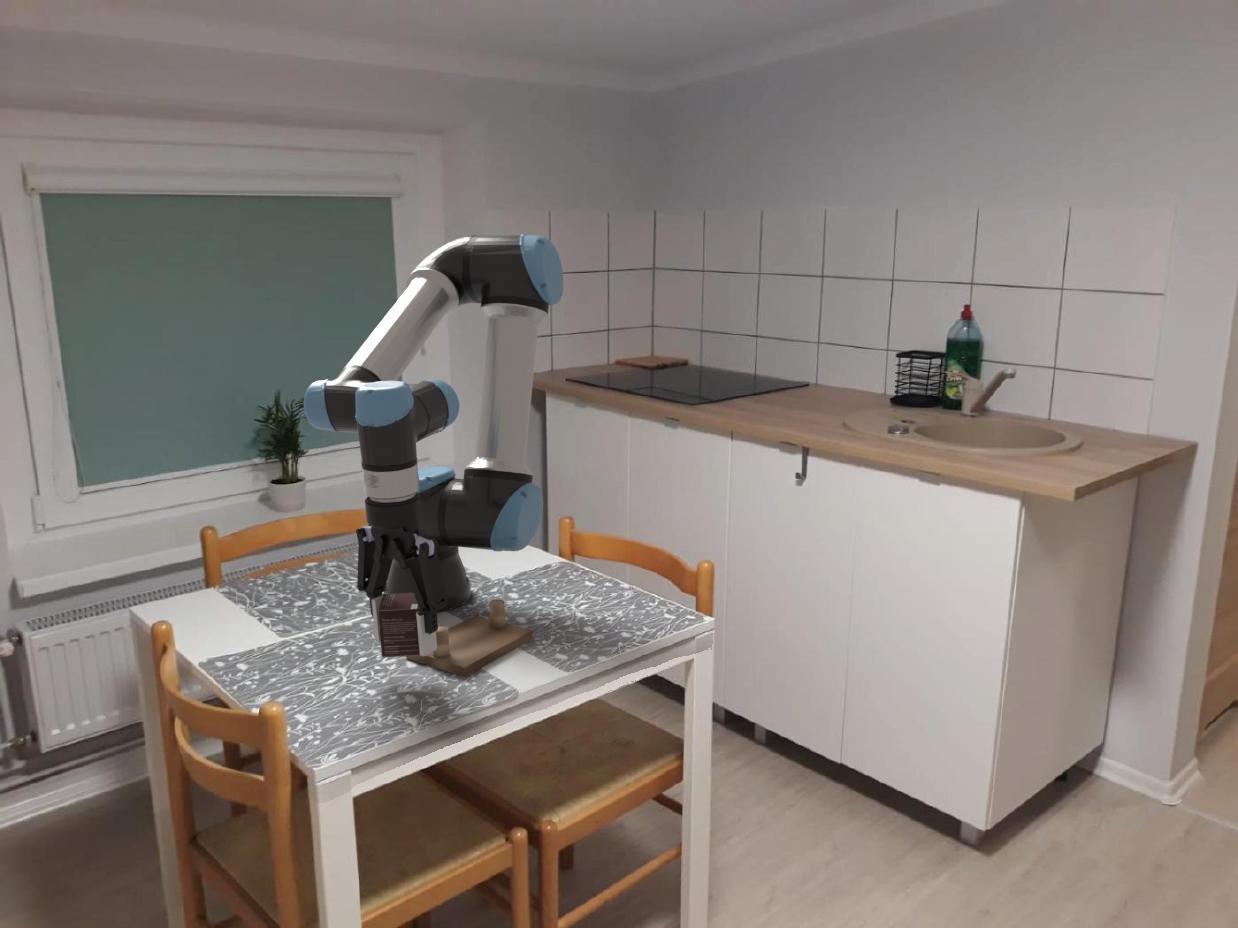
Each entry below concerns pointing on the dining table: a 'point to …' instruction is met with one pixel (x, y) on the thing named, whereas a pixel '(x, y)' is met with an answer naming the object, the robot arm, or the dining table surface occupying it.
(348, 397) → the robot arm
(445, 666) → the rack board
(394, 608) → the box
